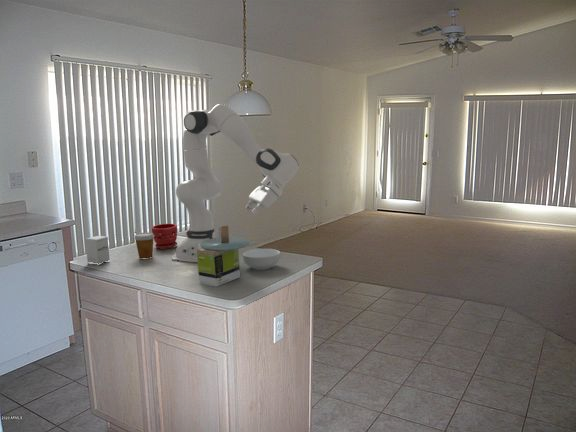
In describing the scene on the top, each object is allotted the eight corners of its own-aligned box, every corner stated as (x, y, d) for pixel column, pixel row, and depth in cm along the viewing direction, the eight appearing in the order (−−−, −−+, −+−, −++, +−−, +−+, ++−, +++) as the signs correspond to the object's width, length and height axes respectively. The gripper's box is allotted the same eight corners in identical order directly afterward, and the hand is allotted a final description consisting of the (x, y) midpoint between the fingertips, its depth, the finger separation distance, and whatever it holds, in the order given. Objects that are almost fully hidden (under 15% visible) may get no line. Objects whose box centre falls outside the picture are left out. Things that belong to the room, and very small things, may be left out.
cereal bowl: (272, 260, 233) (272, 246, 232) (286, 269, 218) (285, 254, 217) (238, 265, 227) (238, 250, 226) (249, 275, 212) (249, 259, 211)
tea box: (223, 274, 214) (221, 241, 211) (240, 277, 208) (239, 243, 205) (198, 283, 202) (196, 248, 199) (216, 287, 196) (214, 251, 193)
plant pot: (159, 244, 274) (158, 223, 271) (182, 244, 271) (180, 223, 269) (148, 249, 261) (147, 227, 259) (171, 250, 258) (170, 228, 256)
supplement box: (98, 265, 232) (95, 239, 230) (87, 264, 236) (84, 238, 233) (110, 261, 239) (108, 236, 237) (99, 260, 242) (97, 235, 240)
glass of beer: (158, 255, 248) (157, 232, 246) (150, 260, 239) (148, 236, 237) (141, 255, 250) (139, 232, 248) (132, 260, 241) (130, 236, 239)
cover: (193, 250, 197) (192, 230, 196) (210, 238, 216) (209, 221, 215) (242, 250, 193) (241, 231, 192) (254, 239, 213) (253, 221, 211)
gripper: (258, 179, 217) (237, 203, 215) (273, 184, 198) (250, 210, 196) (268, 189, 219) (248, 212, 218) (284, 194, 200) (261, 220, 199)
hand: (249, 211), depth 207 cm, fingers open, 8 cm apart
